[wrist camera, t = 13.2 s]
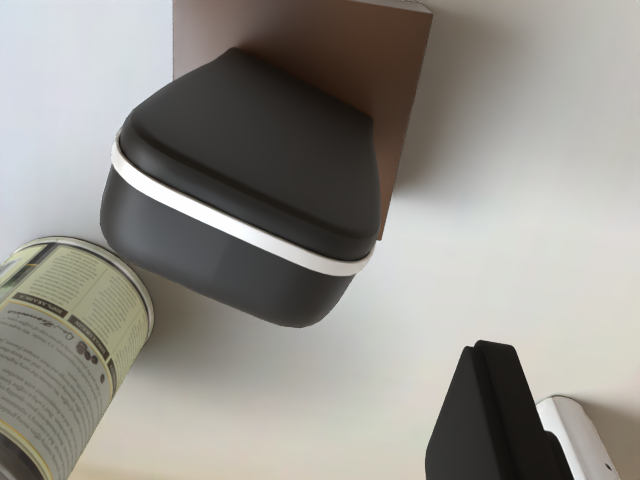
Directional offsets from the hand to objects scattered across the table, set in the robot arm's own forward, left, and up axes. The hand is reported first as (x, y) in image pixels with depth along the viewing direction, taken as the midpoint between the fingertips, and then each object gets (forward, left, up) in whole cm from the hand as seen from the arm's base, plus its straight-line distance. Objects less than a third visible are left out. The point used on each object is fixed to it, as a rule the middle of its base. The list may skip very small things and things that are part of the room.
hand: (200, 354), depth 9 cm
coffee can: (+13, +16, -20) cm, 28 cm away
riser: (0, 0, -19) cm, 19 cm away
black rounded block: (0, 0, -14) cm, 14 cm away
